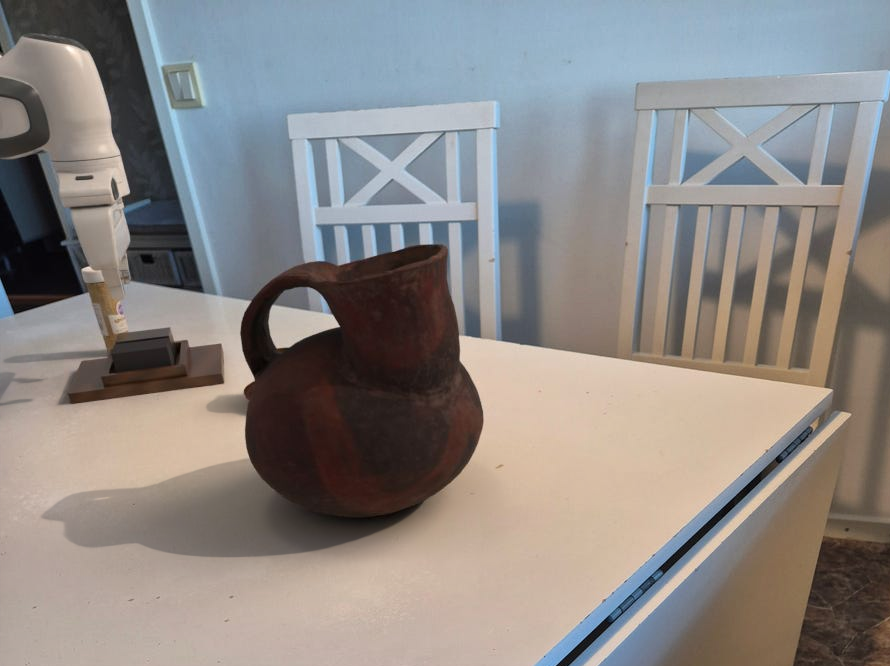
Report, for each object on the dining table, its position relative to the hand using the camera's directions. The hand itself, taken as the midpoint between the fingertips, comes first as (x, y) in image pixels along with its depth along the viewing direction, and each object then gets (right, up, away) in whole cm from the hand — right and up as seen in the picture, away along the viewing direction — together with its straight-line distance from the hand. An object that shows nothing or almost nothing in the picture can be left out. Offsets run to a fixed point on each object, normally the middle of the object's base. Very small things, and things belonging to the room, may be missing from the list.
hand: (122, 290), depth 120 cm
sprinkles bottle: (-9, -1, +22) cm, 24 cm away
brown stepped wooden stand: (0, -9, +10) cm, 14 cm away
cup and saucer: (+24, -16, -1) cm, 29 cm away
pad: (+1, -9, +7) cm, 12 cm away
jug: (+40, -34, -27) cm, 59 cm away
